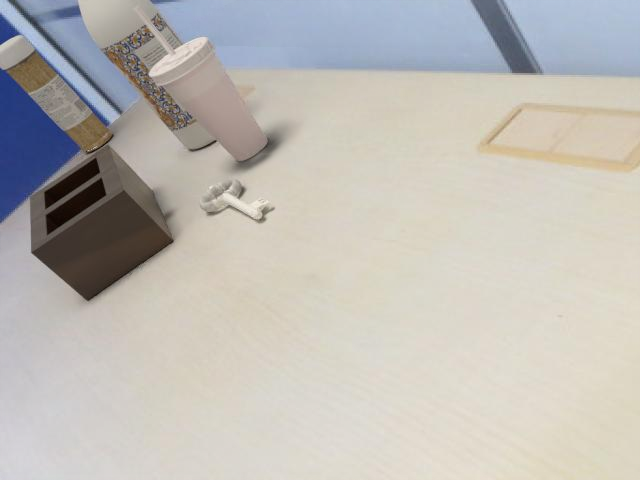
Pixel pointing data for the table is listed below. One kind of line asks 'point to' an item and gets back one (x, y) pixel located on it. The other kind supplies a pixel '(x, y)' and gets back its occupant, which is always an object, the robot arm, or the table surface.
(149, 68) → the bath foam
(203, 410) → the table surface
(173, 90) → the smoothie
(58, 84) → the sprinkles bottle
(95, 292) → the two-slot toaster box
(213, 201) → the key
